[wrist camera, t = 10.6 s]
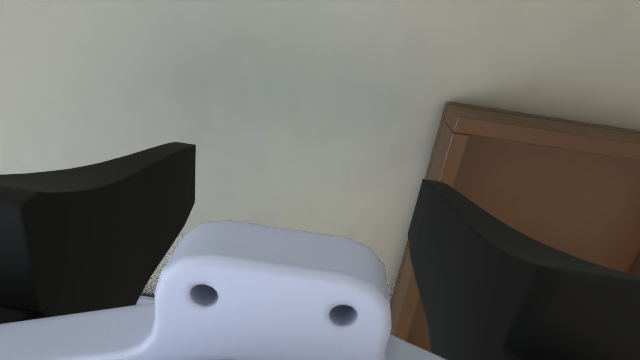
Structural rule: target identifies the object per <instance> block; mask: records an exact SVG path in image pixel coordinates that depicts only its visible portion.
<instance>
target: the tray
mask: <svg viewBox="0 0 640 360" xmlns="http://www.w3.org/2000/svg"><path fill="white" fill-rule="evenodd" d="M425 179H427V180H433V181H440V182H444V183H446V184H448V185H449V186H451V187H452V188H454V189H455V190H457V191H458V192H460V193H461V194H462V195H464V196H465V197H466V198H468V199H469V200H471V201H472V202H473V203H475V204H476V205H478V206H479V207H480V208H482V209H483V210H485V211H486V212H488V213H489V214H491V215H492V216H494V217H495V218H497V219H499V220H500V221H502V222H503V223H505V224H506V225H508V226H510V227H512V228H513V229H515V230H517V231H519V232H521V233H523V234H525V235H527V236H529V237H530V238H532V239H534V240H537V241H539V242H541V243H543V244H545V245H548V246H550V247H552V248H555V249H557V250H559V251H562V252H564V253H567V254H569V255H572V256H575V257H577V258H580V259H583V260H586V261H589V262H592V263H595V264H598V265H601V266H604V267H607V268H611V269H614V270H618V271H622V272H626V273H629V274H633V275H637V276H640V131H634V130H627V129H621V128H614V127H608V126H601V125H595V124H588V123H582V122H575V121H568V120H562V119H555V118H549V117H542V116H536V115H529V114H523V113H516V112H510V111H503V110H497V109H490V108H483V107H477V106H470V105H464V104H457V103H451V102H446V104H445V107H444V111H443V115H442V118H441V122H440V126H439V129H438V133H437V136H436V140H435V144H434V147H433V151H432V155H431V158H430V162H429V165H428V169H427V173H426V176H425ZM390 309H391V324H392V328H391V332H390V334H391V335H393V336H395V337H397V338H400V339H402V340H404V341H406V342H408V343H411V344H413V345H415V346H417V347H419V348H422V349H424V350H426V351H428V352H431V346H430V339H429V332H428V325H427V321H426V316H425V312H424V308H423V305H422V301H421V297H420V294H419V290H418V286H417V282H416V279H415V275H414V271H413V267H412V263H411V259H410V251H409V240H408V242H407V245H406V249H405V253H404V256H403V260H402V264H401V267H400V271H399V274H398V278H397V282H396V285H395V289H394V293H393V296H392V300H391V303H390Z"/></svg>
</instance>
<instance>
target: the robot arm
mask: <svg viewBox="0 0 640 360" xmlns="http://www.w3.org/2000/svg"><path fill="white" fill-rule="evenodd" d="M195 154H196V145H193V144H186V143H180V142H172V143H167V144H163V145H160V146H156V147H153V148H150V149H147V150H143V151H140V152H137V153H134V154H131V155H127V156H124V157H120V158H116V159H113V160H109V161H105V162H102V163H97V164H93V165H88V166H83V167H77V168H71V169H65V170H56V171H47V172H37V173H27V174H8V175H0V360H640V276H637V275H633V274H629V273H626V272H622V271H618V270H614V269H611V268H607V267H604V266H601V265H598V264H595V263H592V262H589V261H586V260H583V259H580V258H577V257H575V256H572V255H569V254H567V253H564V252H562V251H559V250H557V249H555V248H552V247H550V246H548V245H545V244H543V243H541V242H539V241H537V240H534V239H532V238H530V237H529V236H527V235H525V234H523V233H521V232H519V231H517V230H515V229H513V228H512V227H510V226H508V225H506V224H505V223H503V222H502V221H500V220H499V219H497V218H495V217H494V216H492V215H491V214H489V213H488V212H486V211H485V210H483V209H482V208H480V207H479V206H478V205H476V204H475V203H473V202H472V201H471V200H469V199H468V198H466V197H465V196H464V195H462V194H461V193H460V192H458V191H457V190H455V189H454V188H452V187H451V186H449V185H448V184H446V183H444V182H440V181H433V180H427V179H423V180H422V184H421V188H420V191H419V195H418V199H417V202H416V206H415V210H414V213H413V217H412V221H411V224H410V228H409V232H408V240H409V251H410V259H411V263H412V267H413V271H414V275H415V279H416V282H417V286H418V290H419V294H420V297H421V301H422V305H423V308H424V312H425V316H426V321H427V325H428V332H429V339H430V346H431V352H428V351H426V350H424V349H422V348H419V347H417V346H415V345H413V344H411V343H408V342H406V341H404V340H402V339H400V338H397V337H395V336H393V335H391V334H390V332H391V328H392V324H391V309H390V300H389V293H388V286H387V279H386V272H385V265H384V264H383V263H382V262H381V260H380V259H379V258H378V257H377V256H376V254H375V253H374V252H373V251H372V249H371V248H370V247H368V246H366V245H363V244H360V243H358V242H355V241H353V240H350V239H348V238H345V237H339V236H332V235H325V234H319V233H312V232H305V231H298V230H291V229H285V228H278V227H271V226H264V225H257V224H251V223H244V222H237V221H230V220H228V221H216V222H204V223H201V224H200V225H199V226H197V227H196V228H194V229H193V230H191V231H190V232H188V233H187V234H185V235H184V236H183V237H182V239H181V241H180V242H179V244H178V246H177V247H176V249H175V250H174V252H173V254H172V255H171V257H170V259H169V260H168V262H167V263H166V265H165V267H164V268H163V270H162V272H161V275H160V278H159V281H158V284H157V287H156V290H155V293H154V296H155V298H154V297H147V296H140V295H141V293H142V291H143V289H144V287H145V285H146V284H147V282H148V280H149V279H150V277H151V275H152V274H153V272H154V271H155V269H156V268H157V266H158V265H159V263H160V262H161V260H162V259H163V257H164V256H165V254H166V253H167V251H168V250H169V248H170V247H171V245H172V244H173V242H174V241H175V239H176V238H177V236H178V235H179V233H180V232H181V230H182V228H183V227H184V225H185V223H186V221H187V219H188V217H189V214H190V212H191V210H192V207H193V205H194V203H195Z"/></svg>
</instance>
